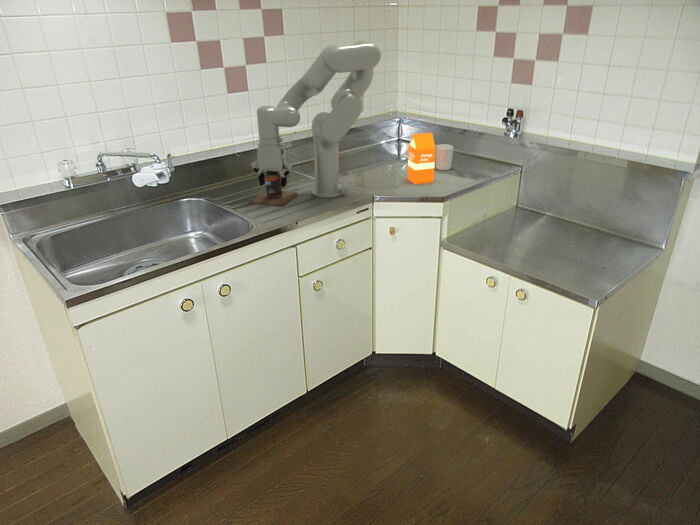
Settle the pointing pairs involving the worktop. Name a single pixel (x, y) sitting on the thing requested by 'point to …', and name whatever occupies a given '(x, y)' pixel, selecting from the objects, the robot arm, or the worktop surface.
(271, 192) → the supplement bottle
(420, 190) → the worktop surface
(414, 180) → the orange juice
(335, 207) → the worktop surface
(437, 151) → the white cup
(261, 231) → the worktop surface
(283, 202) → the walnut board
